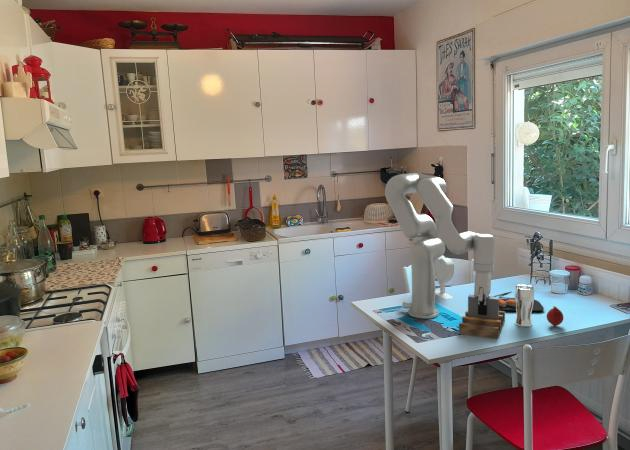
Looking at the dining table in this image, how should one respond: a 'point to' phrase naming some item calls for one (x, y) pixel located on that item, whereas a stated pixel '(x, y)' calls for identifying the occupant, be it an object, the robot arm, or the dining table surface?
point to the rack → (482, 326)
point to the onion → (555, 316)
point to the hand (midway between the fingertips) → (483, 312)
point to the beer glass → (524, 305)
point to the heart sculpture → (443, 274)
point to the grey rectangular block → (491, 307)
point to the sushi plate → (510, 304)
